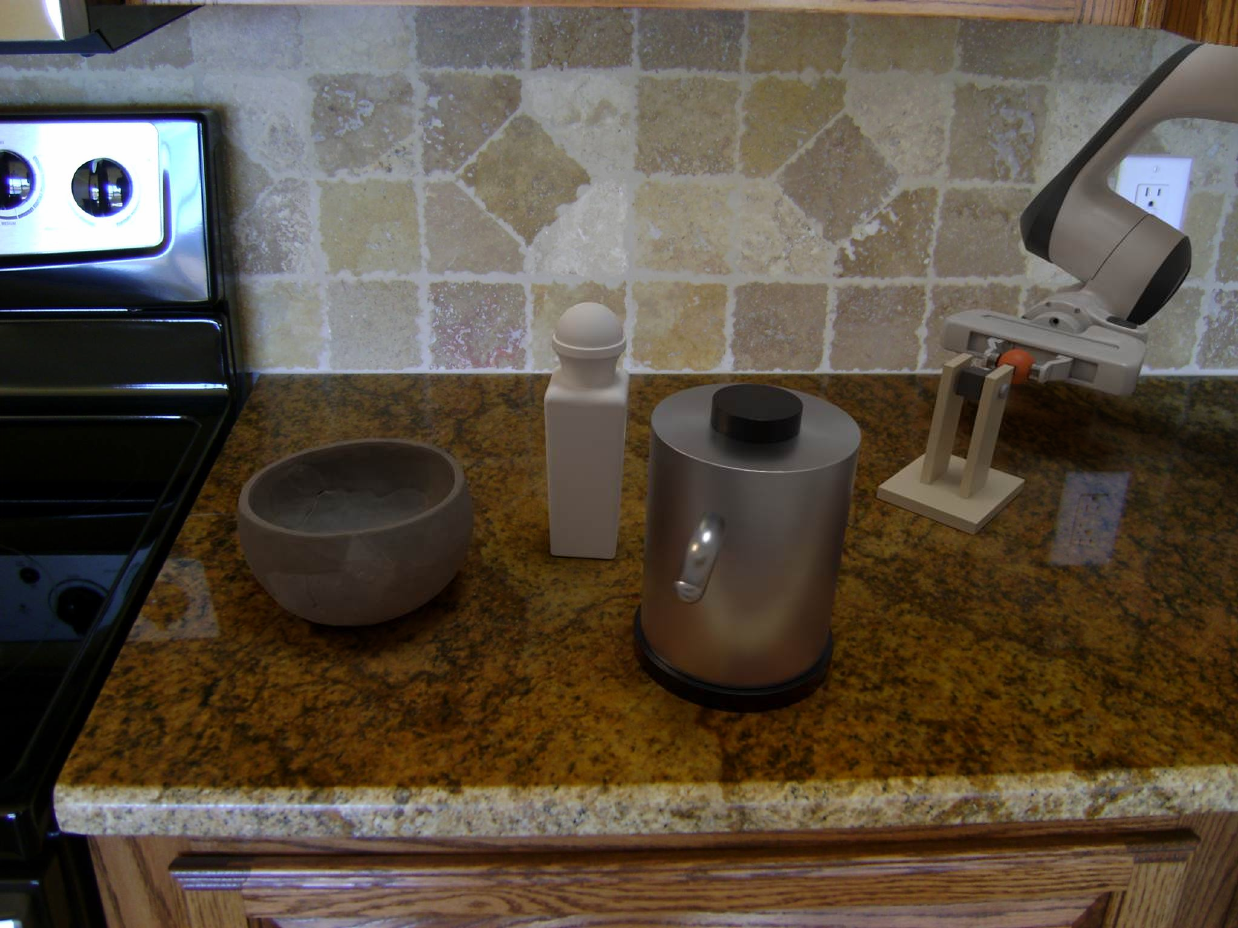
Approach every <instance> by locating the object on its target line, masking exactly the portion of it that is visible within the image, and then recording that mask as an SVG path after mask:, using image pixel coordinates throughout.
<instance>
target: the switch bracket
mask: <svg viewBox="0 0 1238 928" xmlns="http://www.w3.org/2000/svg"><path fill="white" fill-rule="evenodd" d="M973 359H974V357H973V355H969V354H966V353H962V354H959V355H957V356H955V357H954V358H952V359H950V360H949V361H947V362H945V363H944V364H943V367H942V370H941V377H940V381H939V385H938V391H937V395H936V399H935V405H934V411H933V415H932V419H931V424H930V429H929V435H928V439H927V444H926V449H925V452H924V453H923V454H922V455H920V456H918V457H917V458H916V459H915V460H913V461H912V462H911V463H909V464H908V465H906V466H905V467H903V469H900V470H899V471H898V472H897V473H895V474H894V475H892V476H891V477H890V478H888V479H887V480H886V481H884V482H883V483H882V484H880V485H878V487H877V493H876V497H875V498H876V499H878V500H881V501H884V502H886V503H887V504H891V505H893V506H897V507H899V508H901V509H904V510H907V511H909V512H912V513H914V514H918V515H920V516H923V517H925V518H928V519H930V520H932V521H935V522H938V523H941V524H943V525H946V526H948V527H951V528H953V529H956V530H958V531H960V532H964V533H967V534H969V535H971V536H976V534H977V533H978V532H980V530H982V529H983V528H984V527H985V526H986V525H988V523H989V522H990V521H991V520H992V519H994V517H996V516H997V515H998V514H999V513H1000V512H1001V511H1002V510H1003V509H1005V507H1006V506H1008V505H1009V504H1010V503H1011V502H1012V501H1013V500H1014V499H1016V498H1017V496H1019V494H1021V493H1022V492H1023V490H1024V486H1025V482H1026V479H1024V478H1021V477H1018V476H1016V475H1012V474H1009V473H1006V472H1004V471H1000V470H998V469H995V468H992V467H991V464H992V460H993V457H994V452H995V448H996V444H997V440H998V435H999V432H1000V427H1001V423H1002V420H1003V416H1004V412H1005V407H1006V404H1007V399H1008V395H1009V392H1010V389H1011V387H1010V386H1011V384H1010V383H1011V379H1012V375H1013V371H1014V367H1013V366H1009V365H1006V364H1004V365H1002V366H1001V367H999V368H998V369H996V370H995V371H993V372H992V373H990V374H989V375H987V376H986V377H985V381H984V386H983V390H982V394H981V399H980V400H979V403H978V407H977V412H976V417H975V420H974V424H973V430H972V434H971V439H970V441H969V447H968V451H967V455H966V458H963V457H959V456H957V455H953V454H952V453H953V448H954V444H955V439H956V435H957V431H958V426H959V421H960V416H961V412H962V407H963V403H964V399H965V397H962V396H959V395H956V394H955V393H956V389H957V386H958V382H959V378H960V374H961V370H964V369H966V368H969V367H972V362H973Z"/></svg>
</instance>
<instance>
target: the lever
mask: <svg viewBox="0 0 1238 928" xmlns="http://www.w3.org/2000/svg"><path fill="white" fill-rule="evenodd" d="M1033 363H1035V362H1034V359H1033V357H1032V356H1031V355H1030V354H1029V353H1028V352H1026V351H1024V350H1020V349H1014V350H1010V351H1007V352H1006V353H1004V354H1003V355H1002V356H1001V357H1000V359H999V361H998V364H997V367H995V368H993V369H986V368H983V367H978V366H975V365H971V367H969V368H966V369H964V370H961V374H960V378H959V382H958V386H957V389H956V393H955V394H956V395H959V396H962V397H964V399H965V398H966V399H969V400H971V401H972V400H973V401H975V402H980V399H981V394H982V390H983V386H984V381H985V377H986V376H987V375H989V374H990V373H992V372H993V371H995V370H996V369H998V368H999V367H1001V366H1002V365H1004V364H1006V365H1009V366H1013V367H1014V371H1013V375H1012V379H1011V383H1010V385H1022V384H1024V383H1026V382H1028V381H1030V380H1029V379H1028V378H1029V374H1031V371H1030V369H1031V366H1032V364H1033Z"/></svg>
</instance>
